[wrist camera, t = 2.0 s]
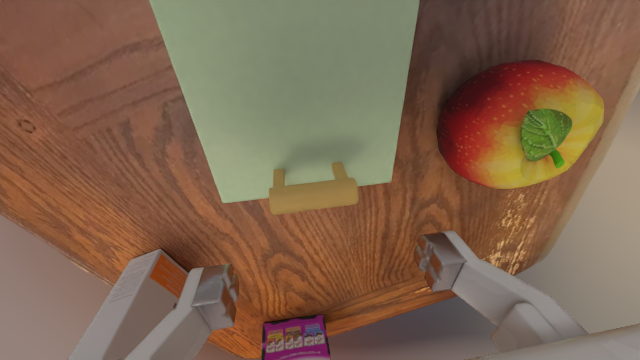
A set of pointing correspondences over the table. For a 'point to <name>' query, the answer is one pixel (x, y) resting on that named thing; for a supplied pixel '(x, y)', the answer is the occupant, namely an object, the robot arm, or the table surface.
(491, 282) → the robot arm
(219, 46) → the lid
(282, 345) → the candy bar box
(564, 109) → the fruit
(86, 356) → the cosmetic box
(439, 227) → the table surface
